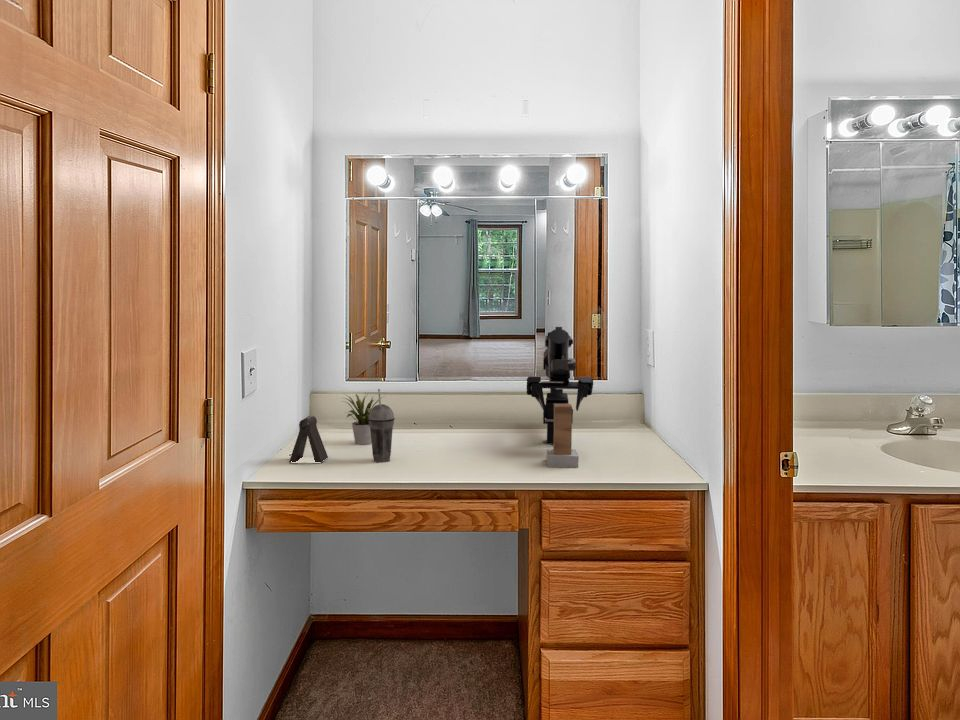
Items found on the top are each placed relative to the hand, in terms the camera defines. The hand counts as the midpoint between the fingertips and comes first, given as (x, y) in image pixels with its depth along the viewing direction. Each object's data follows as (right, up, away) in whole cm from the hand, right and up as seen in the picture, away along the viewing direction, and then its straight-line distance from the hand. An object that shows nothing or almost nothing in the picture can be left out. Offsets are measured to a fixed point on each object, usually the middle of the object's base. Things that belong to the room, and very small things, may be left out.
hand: (560, 409), depth 189 cm
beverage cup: (-50, -14, -2) cm, 52 cm away
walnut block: (0, -11, -6) cm, 13 cm away
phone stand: (-70, -14, -2) cm, 71 cm away
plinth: (0, -14, -5) cm, 15 cm away
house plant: (-60, -12, +20) cm, 64 cm away
